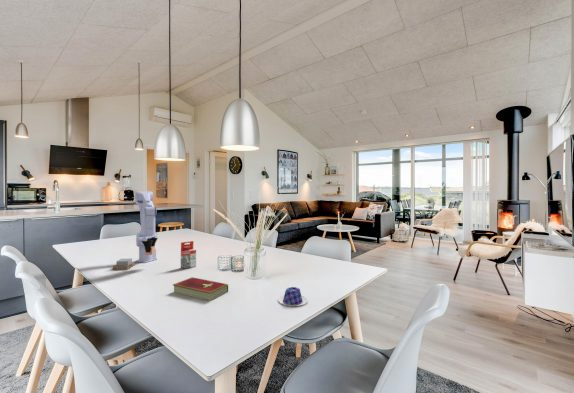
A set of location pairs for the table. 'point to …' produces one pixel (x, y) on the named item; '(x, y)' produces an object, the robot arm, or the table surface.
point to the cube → (150, 251)
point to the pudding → (292, 297)
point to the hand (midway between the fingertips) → (149, 251)
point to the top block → (123, 262)
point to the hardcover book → (200, 288)
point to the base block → (123, 267)
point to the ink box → (188, 255)
